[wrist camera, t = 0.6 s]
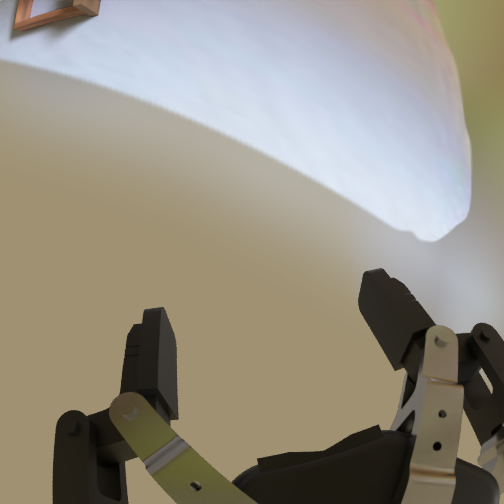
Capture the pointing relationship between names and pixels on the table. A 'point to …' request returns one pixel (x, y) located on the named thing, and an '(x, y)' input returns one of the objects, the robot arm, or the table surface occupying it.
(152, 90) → the table surface
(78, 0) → the shaker rack
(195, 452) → the robot arm
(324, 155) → the table surface
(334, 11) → the table surface
